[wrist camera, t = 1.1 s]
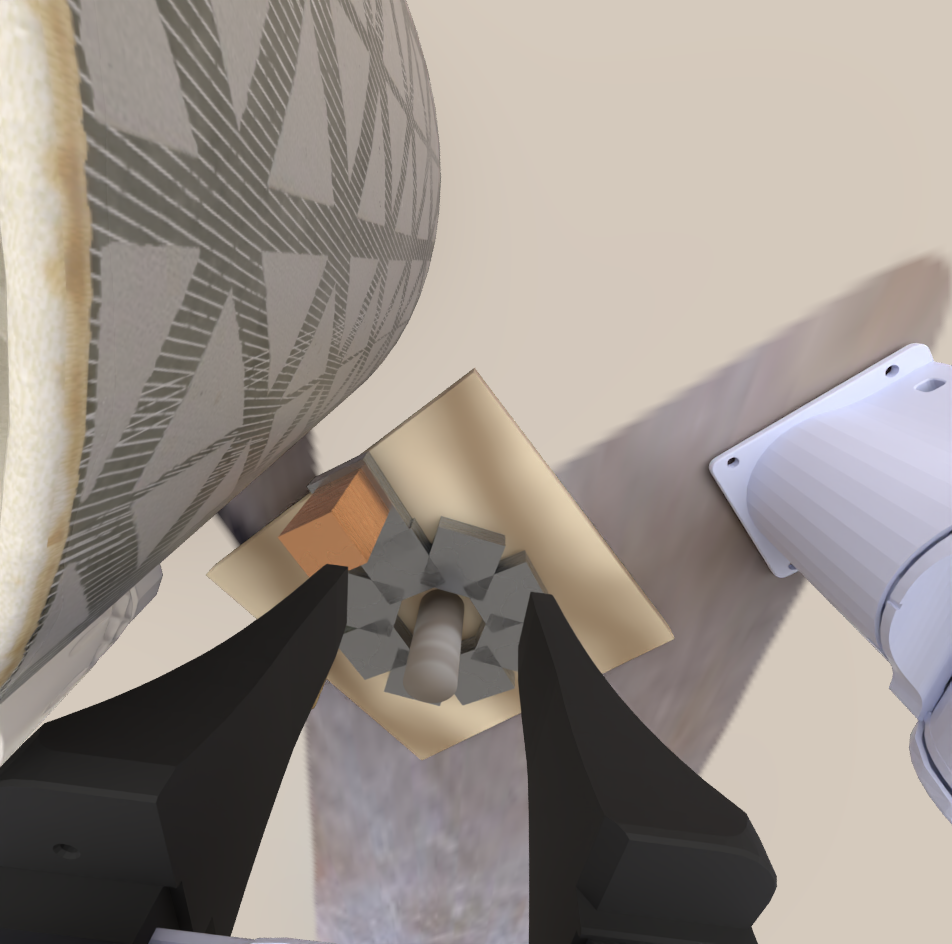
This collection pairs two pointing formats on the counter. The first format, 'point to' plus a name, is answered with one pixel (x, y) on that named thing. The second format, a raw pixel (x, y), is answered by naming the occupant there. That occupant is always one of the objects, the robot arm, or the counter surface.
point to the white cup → (69, 666)
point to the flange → (411, 577)
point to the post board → (451, 615)
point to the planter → (187, 269)
